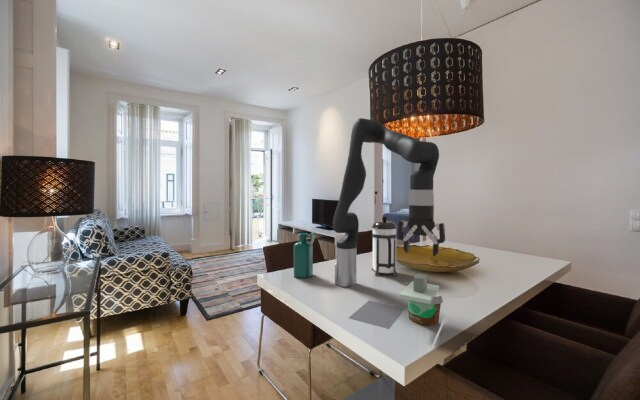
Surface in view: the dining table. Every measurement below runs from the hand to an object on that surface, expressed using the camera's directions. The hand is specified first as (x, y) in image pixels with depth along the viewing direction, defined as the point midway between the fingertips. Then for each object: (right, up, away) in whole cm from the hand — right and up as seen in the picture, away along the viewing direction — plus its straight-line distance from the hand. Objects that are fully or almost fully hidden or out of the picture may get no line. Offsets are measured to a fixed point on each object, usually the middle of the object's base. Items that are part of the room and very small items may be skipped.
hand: (420, 253), depth 90 cm
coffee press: (+2, -21, +55) cm, 59 cm away
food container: (0, -23, +1) cm, 23 cm away
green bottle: (-40, -22, +53) cm, 70 cm away
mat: (-12, -23, +7) cm, 27 cm away
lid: (0, -13, +1) cm, 13 cm away
